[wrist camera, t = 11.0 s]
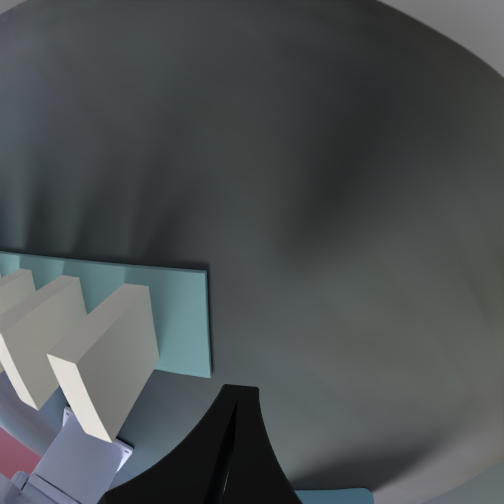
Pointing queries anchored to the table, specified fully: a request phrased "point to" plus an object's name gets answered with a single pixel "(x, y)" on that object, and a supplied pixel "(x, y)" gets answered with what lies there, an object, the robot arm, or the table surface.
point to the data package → (336, 496)
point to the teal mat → (161, 295)
